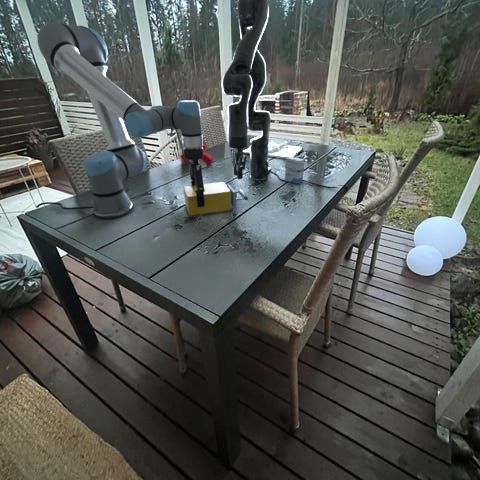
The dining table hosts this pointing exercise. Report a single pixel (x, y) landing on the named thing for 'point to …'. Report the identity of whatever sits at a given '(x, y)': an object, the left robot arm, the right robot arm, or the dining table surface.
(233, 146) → the right robot arm
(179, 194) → the dining table surface
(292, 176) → the ink box
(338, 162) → the dining table surface
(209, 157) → the toy gun
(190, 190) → the yellow rectangular box
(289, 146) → the relief map
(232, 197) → the drawer
